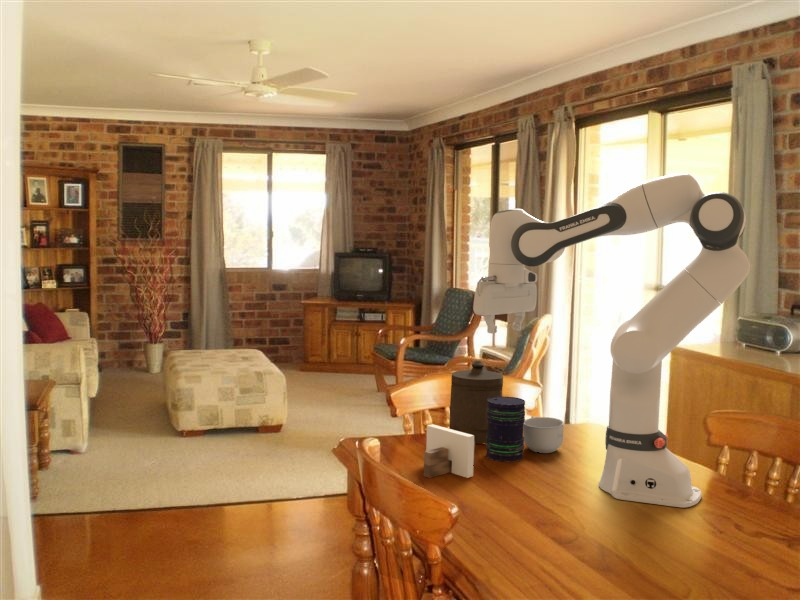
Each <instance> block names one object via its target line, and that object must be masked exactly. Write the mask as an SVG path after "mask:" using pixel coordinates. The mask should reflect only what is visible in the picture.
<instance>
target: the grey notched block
mask: <svg viewBox="0 0 800 600" xmlns="http://www.w3.org/2000/svg"><path fill="white" fill-rule="evenodd" d="M475 457H476V444H475V442H474V463H473V465H474V466H475V464H476V463H475V461H476V458H475ZM448 473H452V461H451V460H448V449H447V448H444V447H440V448H437V449H433V450H429V451H426V450H425V451H424V453H423V477H424V478H425V477H426V478H427V479H428V478H430V479H431V478H432V479H433V478H434V477H439V476H441V475H442V476H443V475H445V474H448Z"/></svg>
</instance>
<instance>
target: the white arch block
mask: <svg viewBox="0 0 800 600" xmlns="http://www.w3.org/2000/svg"><path fill="white" fill-rule="evenodd" d="M440 447H444V448H447V449H448V460H451V461H452V472H451V474H454V475H457V476H460V477H463V478H466V479H468V478H471V477H474V466H473V463H474V435H471V434H467V433H463V432H459V431H456V430H452V429H449V428H448V427H444V426H440V425H436V424H433V423H432V424H428V425H426V447H425V448H426V450H425V451H429V450H433V449H437V448H440Z"/></svg>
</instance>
